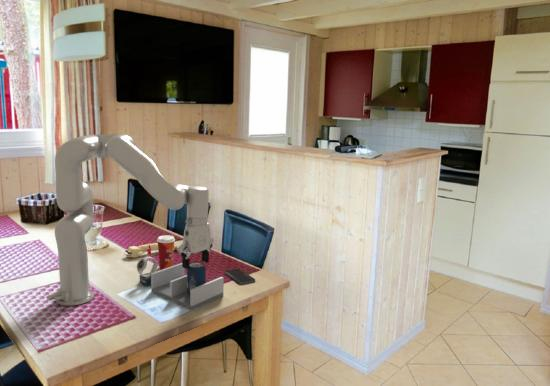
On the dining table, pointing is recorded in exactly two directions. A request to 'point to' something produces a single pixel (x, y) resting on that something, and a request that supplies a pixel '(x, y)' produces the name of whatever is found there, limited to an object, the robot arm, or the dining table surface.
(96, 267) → the dining table surface
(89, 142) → the robot arm
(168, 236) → the paper cup
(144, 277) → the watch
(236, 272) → the phone
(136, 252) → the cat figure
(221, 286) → the drying rack
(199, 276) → the soda can
